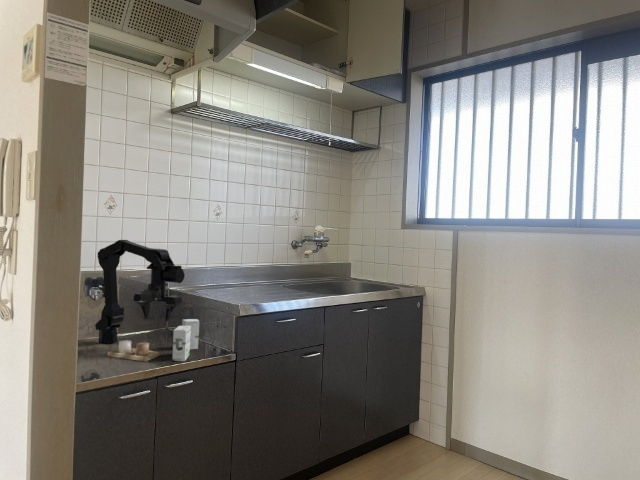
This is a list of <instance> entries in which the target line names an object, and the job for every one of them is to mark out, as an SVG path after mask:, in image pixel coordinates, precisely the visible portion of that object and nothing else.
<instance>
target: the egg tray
mask: <svg viewBox="0 0 640 480" xmlns="http://www.w3.org/2000/svg"><path fill="white" fill-rule="evenodd" d="M136 349H137V348H132V347H131V353H129V354H121V353H118V352H119V348H116V349H114V350H111V351H108V352H107V357H112V358H118V359H125V360H133V361H139V362H140V361H141V362H148V361H150V360H152V359H155V358H158V357H160V351H153V350H149V355H148V356H146V357H143V356H136Z"/></svg>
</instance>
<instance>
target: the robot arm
mask: <svg viewBox="0 0 640 480" xmlns="http://www.w3.org/2000/svg"><path fill="white" fill-rule="evenodd" d="M127 252H128V253H129V254H132V255H136V256H139V257H142V258H144V259H145V260H146V261H147V262H148V263H149V265H148V266H146V269H147V270H151V271H150V283H148V285H147V289H144V290H143V291H142V292H138V293H134V294H133V298H132V301H133V302H135V303H136V304H138V305H139V306H140V308H141V310H142V312H143V316H144V319H145V320H148V319H149V315H150V308H151V307H150V306H151V303H153V302H155V301H156V302H165V304H164V307H165V322H169V320H170V317H171V316H172V314H173V312H174V310H175V309H176V307H177V306H180V304H182V303H183V299H182V296H181V295H169V296H168V293H166V291H167V290H166V287H168V284H169V283H174V284H181V283H183V281H184V279H185V272H184V270H183V269H182V267H183V266H182V265H176V264H175V263H174V261H173V260H172V258H171V256H170V253H169V251H168V250H167V249H164V248H155V247H154V248H152V247H151V248H150V247H148V246H144V245H143V244H142V245H141V244H139V243H136V242H132V241H130V240H128V239H119V240H117V241H115V242H114V243H112V244H109V245H107V246H106V247H104V248H100V249H99V251H98V252H97V259H98V264H99V266H100V268H101V269H102V272H103V273H102V274H103V292H104V306H103V308H102V310H101V316H100V319H99V320H98V321H97V322H96V323H95V324H94V326H95V330H97V331H98V341H97V342H96V343H95V344H96V345H97V344H98V345H99V344H100V345H107V346H108V345H113V344H116V343H119V341H120V340H118V329H119V328H121V326H122V323H123V322H124V318H125V317H126V316H125V308H124V307H121V306H120V304H119V296H118V279H117V277H118V276H117V269H118V266H119V264H120V262H121V261H120V260H121V257H122V256H123V255H125V254H126V253H127Z"/></svg>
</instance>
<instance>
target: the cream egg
mask: <svg viewBox="0 0 640 480" xmlns="http://www.w3.org/2000/svg"><path fill="white" fill-rule="evenodd" d="M118 341H119V342H118V349H119V352H118V353H121V354H129V353H131V348H132V340H129V339H125V340H124V339H123V340H118Z"/></svg>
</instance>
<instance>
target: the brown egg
mask: <svg viewBox="0 0 640 480" xmlns="http://www.w3.org/2000/svg"><path fill="white" fill-rule="evenodd" d="M135 349H136V356H143V357H146V356H148V355H149V351H150V342H143V341H142V342H138V343H136V348H135Z"/></svg>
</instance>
